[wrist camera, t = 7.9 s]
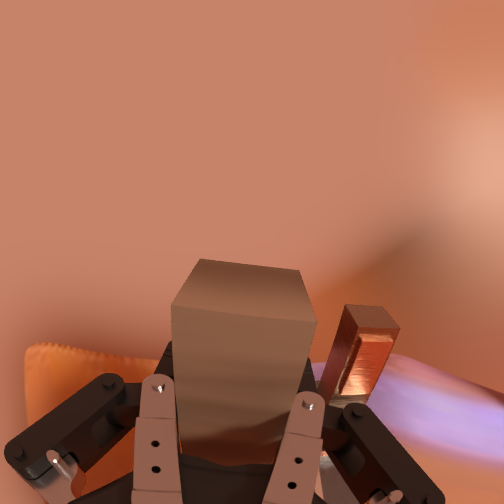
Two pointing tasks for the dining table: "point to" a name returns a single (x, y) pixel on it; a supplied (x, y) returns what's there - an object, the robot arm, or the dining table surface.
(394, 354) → the dining table surface
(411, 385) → the dining table surface
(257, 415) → the wooden post
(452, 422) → the dining table surface
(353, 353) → the brown post on slab
